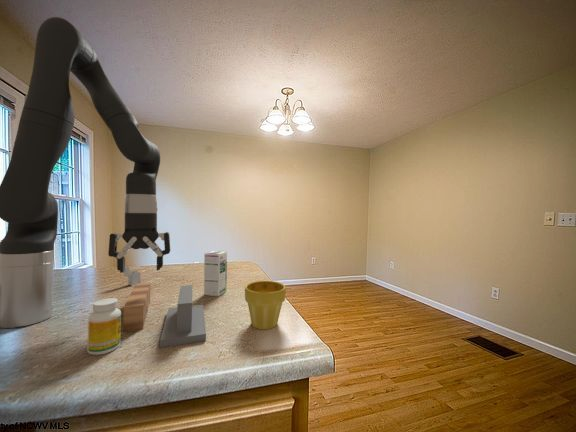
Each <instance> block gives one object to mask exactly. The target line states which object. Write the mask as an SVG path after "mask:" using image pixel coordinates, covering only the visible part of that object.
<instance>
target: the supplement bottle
mask: <svg viewBox="0 0 576 432" xmlns="http://www.w3.org/2000/svg"><path fill="white" fill-rule="evenodd" d="M118 305H119V300H118V298H116V297H115V298H114V297H109V298H103V299H98V300H96V301H94V302H93V304H92V310H93V312H91V313H90V314H89V316H88V318H87V319H88V320H87V322H88V323H87V324H88V325H87V353H88V354H89V355H95V356H99V355H104V354H108V353H111V352H112V351H115V350H116V349H118V348H119V346H120V345H121V335H122V334H121V333H122V311H121V309H120V308H118Z"/></svg>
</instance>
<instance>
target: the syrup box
mask: <svg viewBox="0 0 576 432" xmlns="http://www.w3.org/2000/svg"><path fill="white" fill-rule="evenodd" d="M203 258H204V259H203V260H204V262H203V263H204V265H203V268H204V270H203V272H204V273H203V275H204V276H203V295H205V296H210V297H212V296H213V297H220V296H221V295H222V294H224V293H225V292H227V281H228V280H227V279H228V278H227V277H228V276H227V269H228V268H227V267H228V266H227V263H228V262H227V261H228V252H227V251H224V250H212V251H210V252H205V253H204V257H203Z"/></svg>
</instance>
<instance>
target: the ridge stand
mask: <svg viewBox="0 0 576 432" xmlns="http://www.w3.org/2000/svg"><path fill="white" fill-rule="evenodd" d="M176 305H177V307H168V310H167V312H166V317H165V320H164V325H163V328H162V331H161V336H160V340H159V348H161V349H162V348H167V347H174V346H181V345H186V344H193V343H200V342H206V341H207V330H206V321H205V319H206V318H205V311H204V310H205V309H204V304H197V305H193V284H189V285H188V284H187V285H180V288H179V294H178V299H177V304H176Z"/></svg>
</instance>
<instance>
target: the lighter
mask: <svg viewBox="0 0 576 432" xmlns="http://www.w3.org/2000/svg"><path fill="white" fill-rule="evenodd" d="M122 273H123V275H124V277H127V281H128V282H127V286H128V285H131V286H130V287H133V286H135V284H138V283H139V284H140V283H141V273H142V272H141V271H138V270H137V269H134V270H131V269H130V267H129V265H127V264H125V271H124V272H122ZM132 285H133V286H132Z"/></svg>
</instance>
